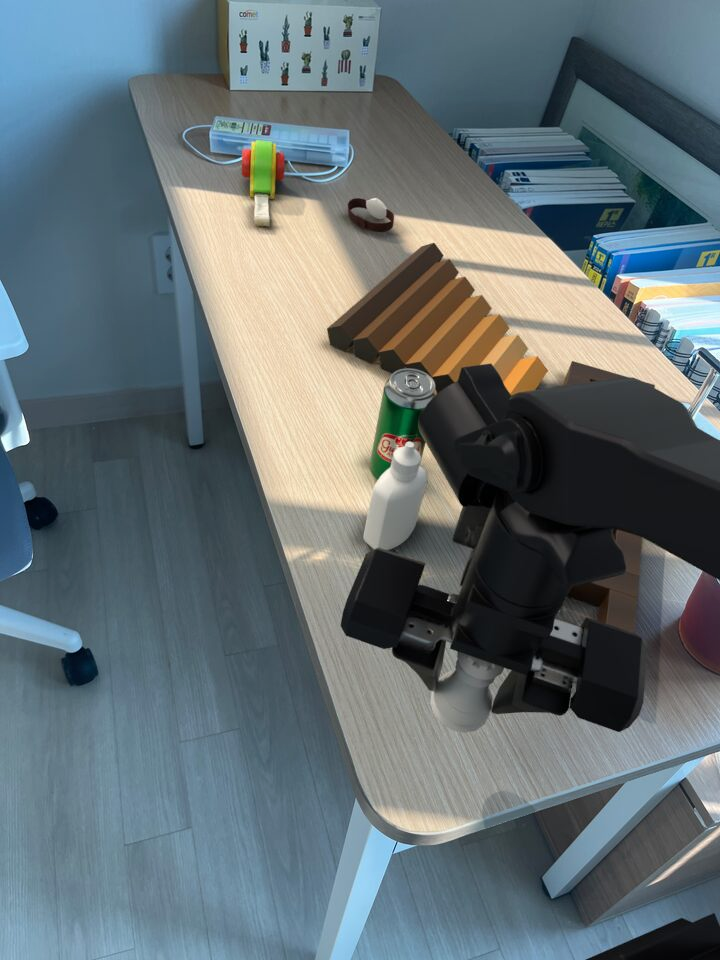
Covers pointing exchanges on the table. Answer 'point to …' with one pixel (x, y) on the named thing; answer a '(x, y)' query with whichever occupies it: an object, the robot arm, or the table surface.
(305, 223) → the table surface
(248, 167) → the toy measuring tape
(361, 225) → the watch
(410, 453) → the eye dropper bottle
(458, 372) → the pan flute
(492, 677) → the rook chess piece
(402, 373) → the soda can
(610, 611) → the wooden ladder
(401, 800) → the table surface
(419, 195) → the table surface
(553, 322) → the table surface
